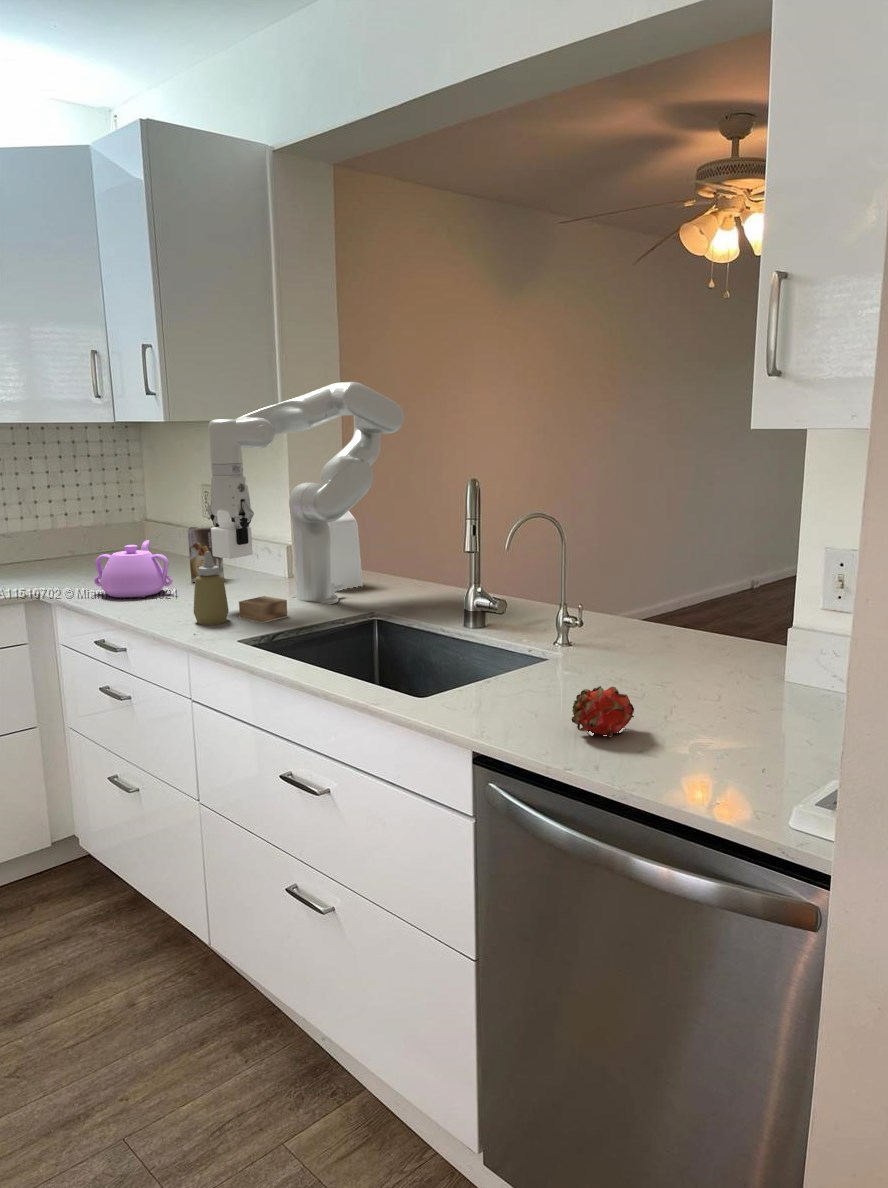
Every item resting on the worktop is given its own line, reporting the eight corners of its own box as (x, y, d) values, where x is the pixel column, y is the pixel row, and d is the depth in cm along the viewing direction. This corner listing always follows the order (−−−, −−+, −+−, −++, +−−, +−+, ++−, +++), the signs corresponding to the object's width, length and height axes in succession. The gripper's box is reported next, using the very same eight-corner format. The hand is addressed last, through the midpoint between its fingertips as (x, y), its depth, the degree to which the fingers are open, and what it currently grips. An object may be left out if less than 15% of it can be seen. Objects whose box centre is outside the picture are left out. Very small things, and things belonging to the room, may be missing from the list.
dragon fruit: (565, 748, 143) (624, 745, 148) (596, 731, 136) (657, 729, 142) (552, 697, 146) (611, 696, 152) (583, 677, 139) (643, 677, 145)
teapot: (187, 585, 267) (184, 538, 264) (163, 600, 246) (160, 550, 243) (113, 585, 267) (109, 538, 265) (82, 600, 246) (78, 550, 243)
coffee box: (225, 578, 277) (222, 525, 274) (221, 582, 271) (218, 528, 267) (194, 579, 276) (191, 526, 273) (190, 583, 270) (186, 529, 267)
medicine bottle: (235, 552, 231) (232, 505, 228) (253, 555, 227) (250, 506, 224) (212, 556, 226) (208, 508, 223) (230, 559, 221) (226, 510, 219)
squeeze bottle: (194, 631, 211) (189, 555, 208) (194, 624, 219) (189, 550, 215) (230, 629, 213) (226, 553, 210) (228, 621, 221) (224, 548, 217)
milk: (328, 592, 256) (325, 499, 250) (305, 586, 264) (302, 496, 259) (362, 586, 264) (360, 496, 258) (339, 580, 272) (336, 493, 267)
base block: (265, 611, 226) (264, 595, 225) (287, 616, 221) (286, 599, 220) (239, 617, 219) (238, 601, 218) (262, 622, 215) (261, 605, 214)
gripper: (263, 470, 219) (267, 543, 223) (216, 468, 230) (221, 538, 233) (238, 473, 214) (243, 547, 217) (192, 470, 224) (197, 541, 228)
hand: (232, 542), depth 225 cm, fingers closed on medicine bottle, 7 cm apart
